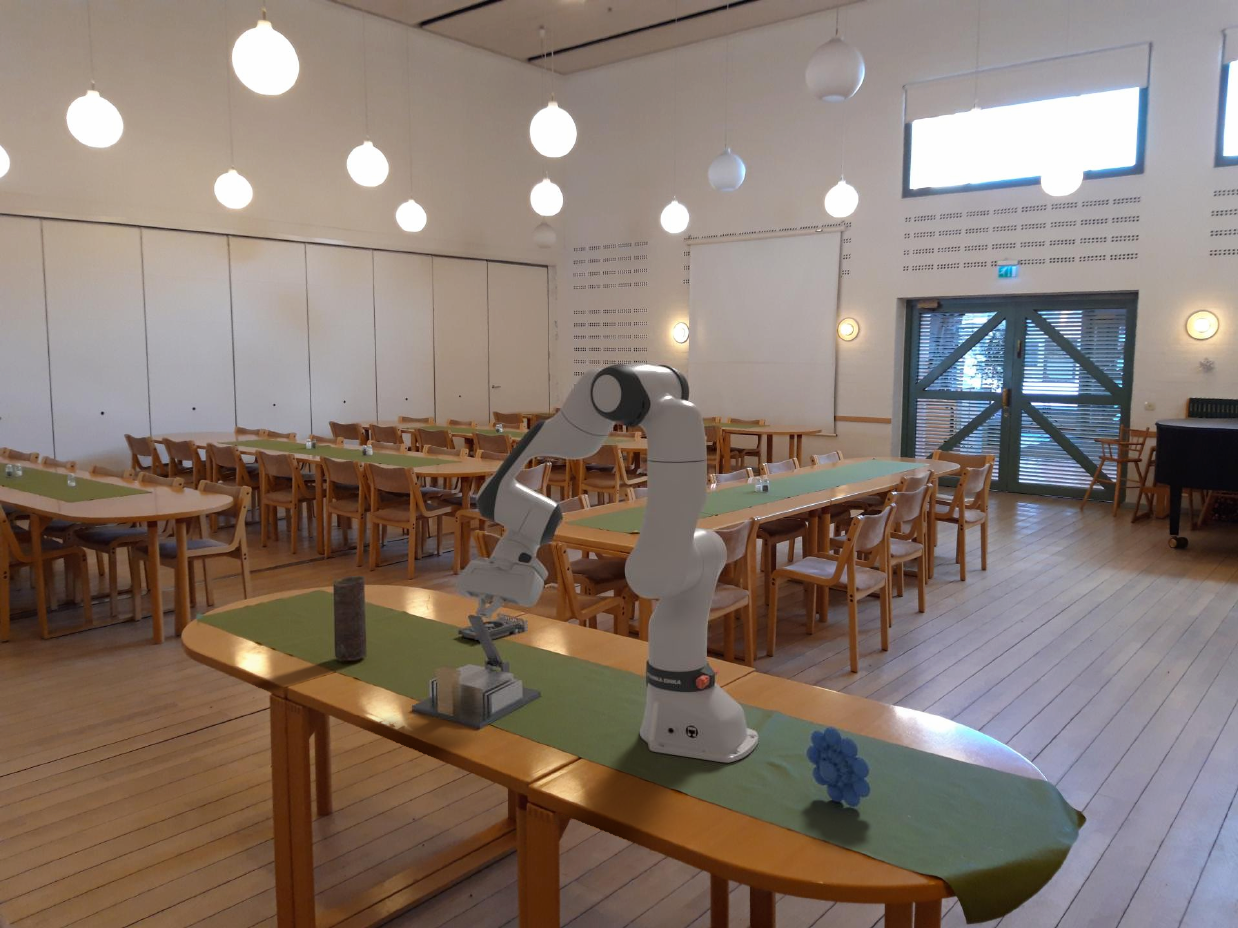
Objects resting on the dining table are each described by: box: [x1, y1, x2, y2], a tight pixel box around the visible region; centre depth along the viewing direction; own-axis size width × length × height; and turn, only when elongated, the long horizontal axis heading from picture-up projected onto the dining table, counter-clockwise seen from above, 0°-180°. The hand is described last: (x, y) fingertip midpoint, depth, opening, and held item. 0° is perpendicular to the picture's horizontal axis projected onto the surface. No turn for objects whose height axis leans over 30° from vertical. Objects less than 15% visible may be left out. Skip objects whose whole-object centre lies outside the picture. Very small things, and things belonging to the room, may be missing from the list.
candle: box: [332, 575, 368, 662], centre depth 210 cm, size 8×7×20 cm
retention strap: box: [467, 614, 505, 669], centre depth 185 cm, size 15×3×1 cm
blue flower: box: [806, 726, 871, 808], centre depth 141 cm, size 12×7×12 cm, turn 43°
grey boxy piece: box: [411, 659, 542, 730], centre depth 184 cm, size 18×20×10 cm
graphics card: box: [457, 612, 529, 641], centre depth 232 cm, size 17×4×12 cm
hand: (482, 616), depth 184 cm, fingers closed
